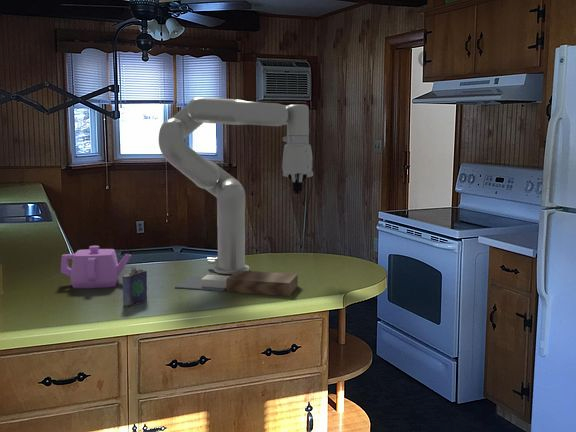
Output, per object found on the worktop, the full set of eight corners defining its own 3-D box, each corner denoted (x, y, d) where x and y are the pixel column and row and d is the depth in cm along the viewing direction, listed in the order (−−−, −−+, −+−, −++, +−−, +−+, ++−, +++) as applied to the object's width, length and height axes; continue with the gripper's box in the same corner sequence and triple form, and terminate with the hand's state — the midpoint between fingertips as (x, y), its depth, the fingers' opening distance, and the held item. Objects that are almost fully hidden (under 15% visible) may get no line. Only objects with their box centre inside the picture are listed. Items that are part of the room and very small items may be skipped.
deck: (226, 291, 205) (226, 279, 204) (237, 282, 216) (237, 270, 216) (289, 295, 201) (289, 283, 200) (297, 286, 212) (297, 273, 211)
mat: (175, 288, 209) (175, 286, 209) (191, 277, 222) (191, 276, 222) (223, 291, 205) (223, 290, 205) (236, 280, 219) (236, 279, 219)
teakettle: (57, 284, 212) (55, 247, 210) (99, 274, 226) (98, 239, 224) (91, 293, 202) (90, 253, 200) (133, 282, 216) (132, 245, 214)
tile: (201, 286, 209) (201, 279, 209) (207, 281, 215) (207, 274, 215) (228, 288, 207) (228, 280, 207) (233, 283, 213) (233, 276, 213)
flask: (127, 307, 188) (126, 270, 186) (120, 306, 189) (118, 269, 188) (149, 299, 196) (148, 264, 194) (141, 298, 197) (140, 263, 196)
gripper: (274, 140, 226) (274, 194, 229) (317, 141, 223) (316, 195, 226) (279, 140, 233) (279, 191, 236) (321, 140, 230) (320, 192, 233)
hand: (297, 193), depth 231 cm, fingers closed
